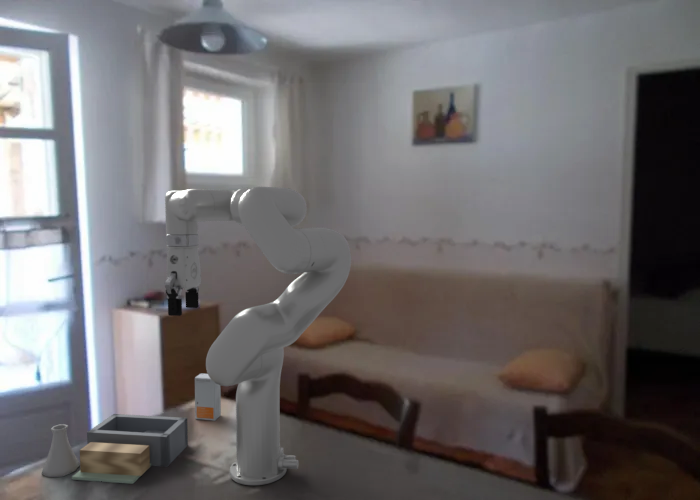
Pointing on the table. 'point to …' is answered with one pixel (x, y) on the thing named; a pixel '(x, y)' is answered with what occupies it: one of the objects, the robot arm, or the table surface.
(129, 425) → the cradle
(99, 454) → the oak bar
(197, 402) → the skincare box
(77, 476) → the mat
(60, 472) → the flask
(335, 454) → the table surface
